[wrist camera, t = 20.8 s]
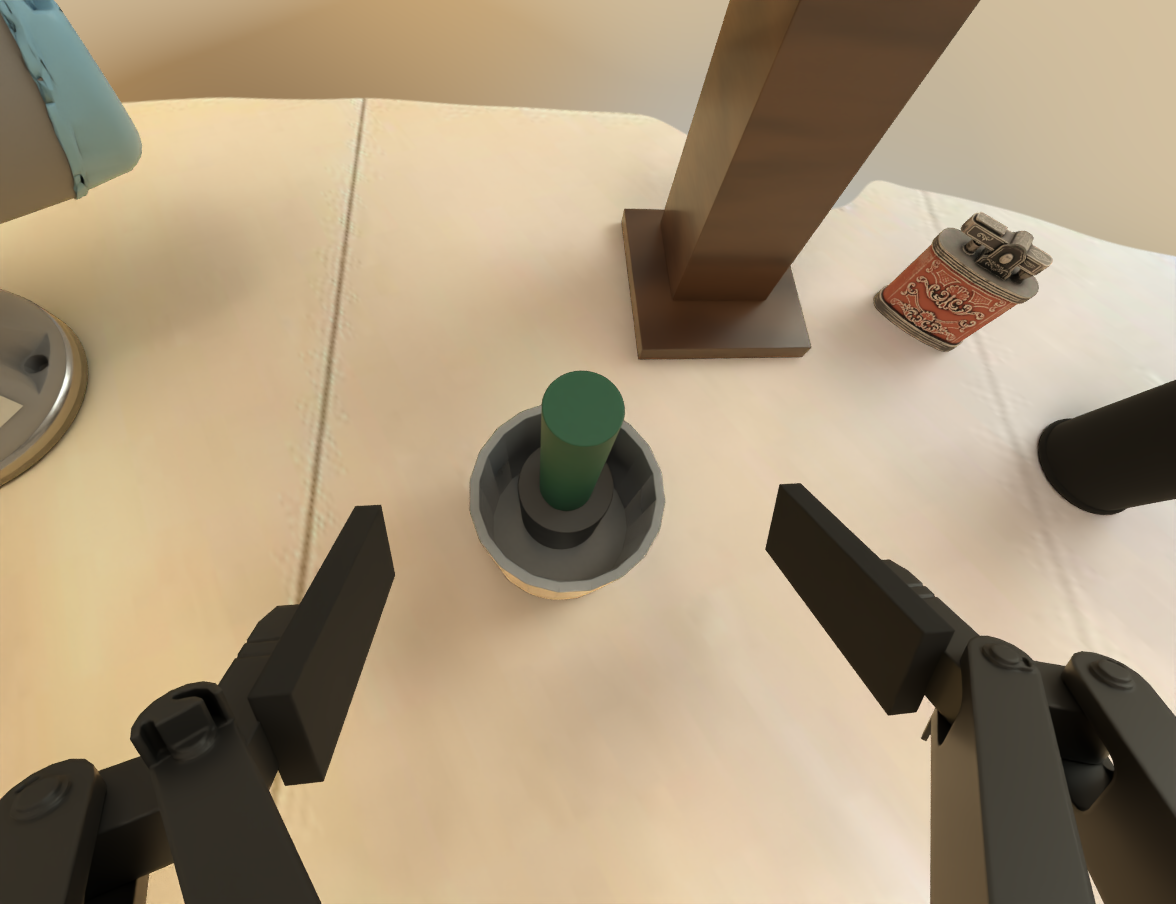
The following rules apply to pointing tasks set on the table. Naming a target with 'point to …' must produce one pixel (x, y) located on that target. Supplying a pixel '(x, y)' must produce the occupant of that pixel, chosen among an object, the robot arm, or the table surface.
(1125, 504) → the aerosol can
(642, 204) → the table surface
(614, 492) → the steel cup
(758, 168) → the stand
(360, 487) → the table surface
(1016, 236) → the lighter
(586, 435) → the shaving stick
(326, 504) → the table surface
